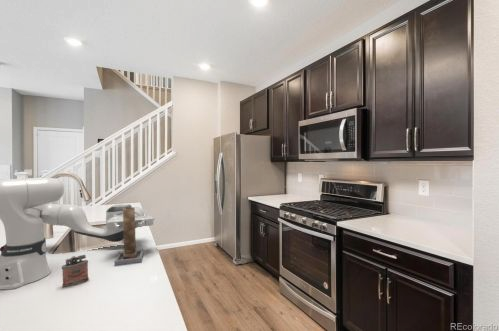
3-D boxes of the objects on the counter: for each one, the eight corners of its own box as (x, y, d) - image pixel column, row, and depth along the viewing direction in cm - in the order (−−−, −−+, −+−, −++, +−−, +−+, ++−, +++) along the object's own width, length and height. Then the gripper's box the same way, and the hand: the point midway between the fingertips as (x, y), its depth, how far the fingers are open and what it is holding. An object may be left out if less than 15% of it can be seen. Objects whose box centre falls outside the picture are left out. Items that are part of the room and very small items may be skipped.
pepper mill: (122, 261, 110) (120, 206, 110) (124, 257, 116) (122, 203, 115) (136, 259, 112) (134, 205, 111) (137, 255, 117) (136, 203, 117)
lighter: (62, 288, 89) (61, 261, 88) (61, 285, 91) (60, 258, 91) (89, 281, 94) (88, 254, 94) (87, 278, 97) (87, 252, 96)
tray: (114, 266, 107) (114, 261, 107) (119, 256, 117) (119, 252, 117) (141, 262, 110) (141, 258, 110) (143, 253, 120) (143, 249, 120)
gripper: (155, 223, 129) (153, 230, 116) (110, 227, 123) (103, 235, 109) (154, 211, 129) (153, 217, 116) (110, 214, 122) (103, 221, 109)
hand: (128, 226), depth 112 cm, fingers open, 8 cm apart
